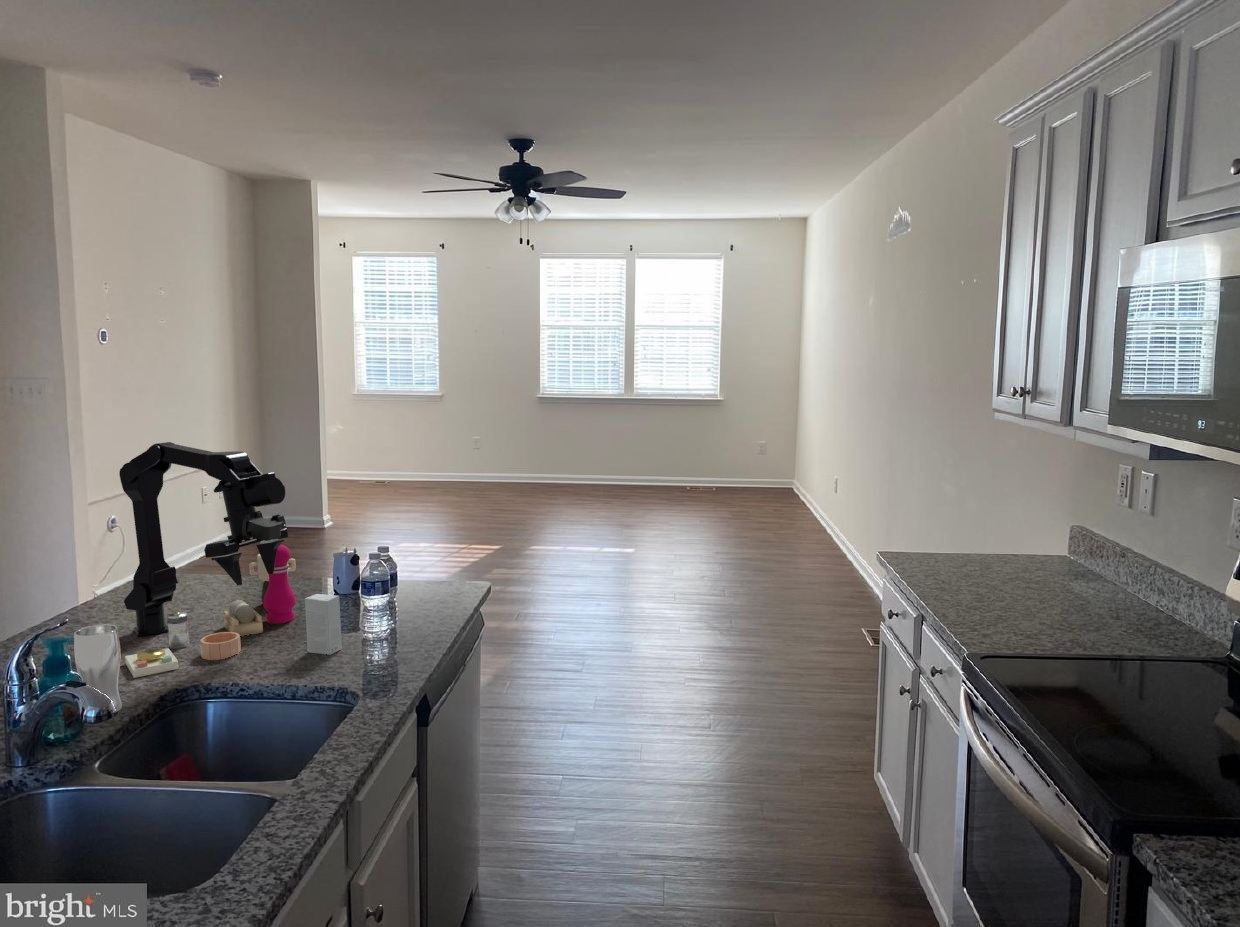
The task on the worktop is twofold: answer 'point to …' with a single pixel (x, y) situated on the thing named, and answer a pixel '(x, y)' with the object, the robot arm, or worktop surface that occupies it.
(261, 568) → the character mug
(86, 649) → the beer glass
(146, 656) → the gold disc
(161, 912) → the worktop surface
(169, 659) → the white decorated slab
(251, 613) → the trough rack
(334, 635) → the skincare box
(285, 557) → the pepper mill
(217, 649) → the peach faceted bowl
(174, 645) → the glass salt shaker
